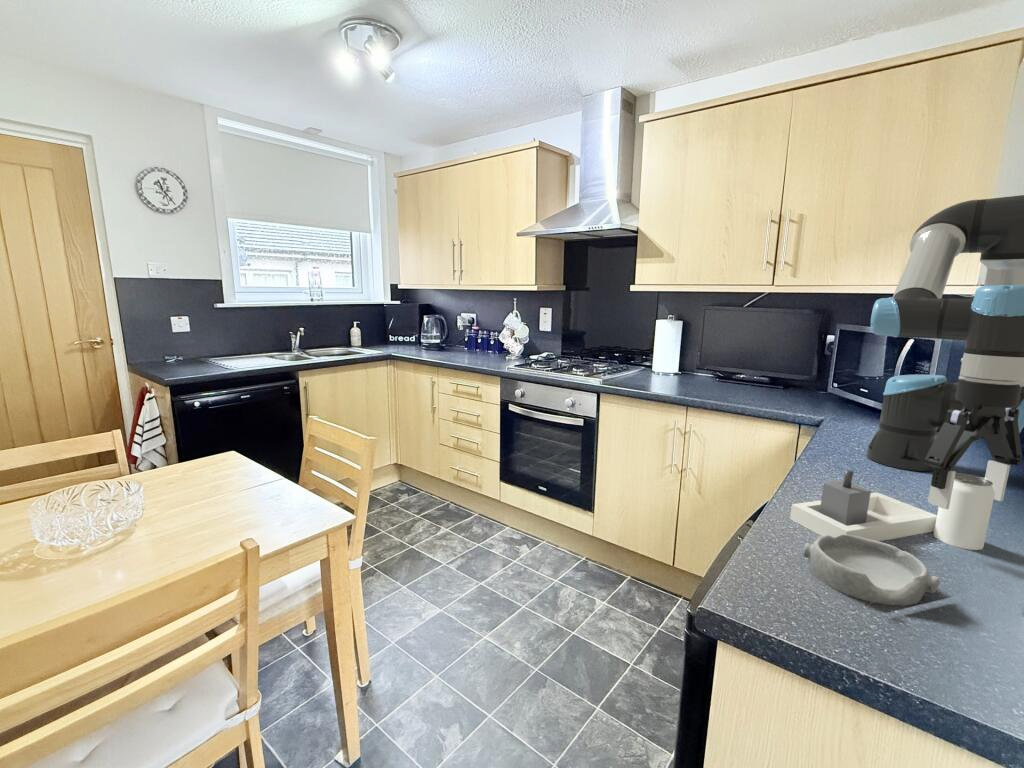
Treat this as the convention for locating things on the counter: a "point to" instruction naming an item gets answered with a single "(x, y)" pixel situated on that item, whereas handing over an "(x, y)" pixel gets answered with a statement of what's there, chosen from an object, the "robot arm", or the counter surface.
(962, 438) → the robot arm
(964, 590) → the counter surface
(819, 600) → the counter surface
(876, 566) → the dish
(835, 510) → the seated block
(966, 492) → the can
